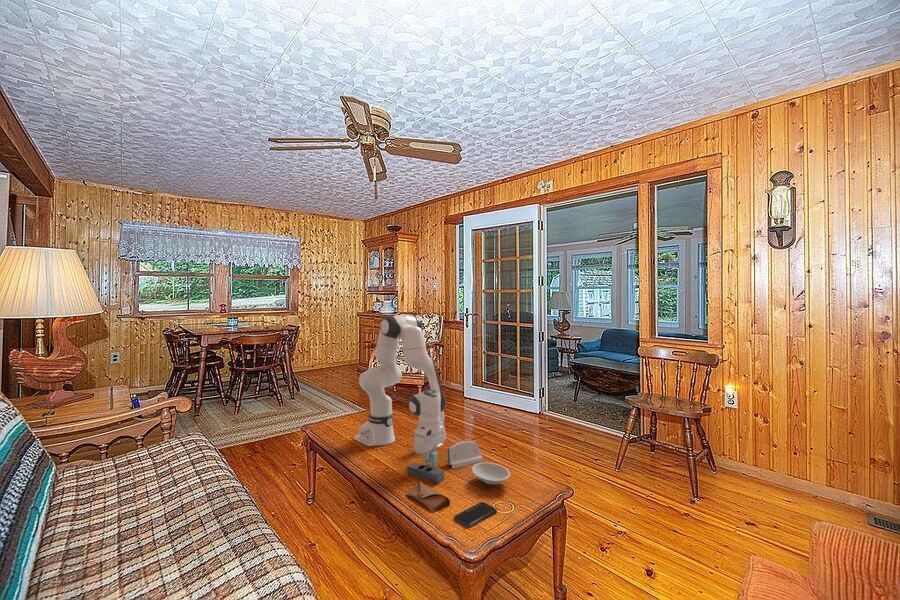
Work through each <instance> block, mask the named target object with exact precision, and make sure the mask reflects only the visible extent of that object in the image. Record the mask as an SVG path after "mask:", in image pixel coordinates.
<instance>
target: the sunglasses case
mask: <svg viewBox="0 0 900 600" xmlns="http://www.w3.org/2000/svg"><path fill="white" fill-rule="evenodd" d="M404 496H405V497H407V498H409V499H411V500H413V501H414V502H416V503H418V504H419V505H421V506H422V507H424V508H425V509H426V510H428V511H429V512H430V513H432V514H434V513H436V512H439V511H440V510H443V509H445V508H447V507H449V506H450V505H451V503H450V502H451V501H450V499H449V497H448V496H445V495H444V494H442V493H440V492H438V491H437V490H436V489H433V488H432V487H430V486H428V485H427V484H424V482H421V481H420V480H419V481H418V482H417V483H416V484H414V486H413V487H412V488H411V489H410V490H409V491H408V492H407V493H406V494H404Z"/></svg>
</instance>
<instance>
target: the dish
mask: <svg viewBox="0 0 900 600" xmlns="http://www.w3.org/2000/svg"><path fill="white" fill-rule="evenodd" d="M471 471H472V473H473V474H474V475H475V476H476V477H477V479H479V481H480V482H482V483H485V484H487V485H490V486H494V485H495V486H497V485H501V484H502V483H504V482H505V481H507V480H508V479H509V478H510V476H511V472H510V470H509V469H508V468H507V467H505V466H503V465H502V464H499V463H494V462H487V461H486V462H485V461H483V462H479V463H475V464H474V465H473V466H472V467H471Z"/></svg>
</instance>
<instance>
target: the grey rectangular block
mask: <svg viewBox="0 0 900 600" xmlns="http://www.w3.org/2000/svg"><path fill="white" fill-rule="evenodd" d="M406 475H408V476H411V477H414V478H416V479H417V478H418V479H420V480H424V481H426V482H429V483H434V484H437V485H438V484H440V483H441V482H442V481H444V480H445V470H442V469H439V468H436V467H431V466H429V465H425V464H422V463H418V462H416V461H415V462H414V461H413V462H412V463H410V464H408V465H407V466H406Z"/></svg>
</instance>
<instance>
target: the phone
mask: <svg viewBox="0 0 900 600" xmlns="http://www.w3.org/2000/svg"><path fill="white" fill-rule="evenodd" d="M497 512H498V511H497V508H496V507H494V506H492V505H490V504H489V503H486V502H484V501H480V502H478V503H476V504H475V505H472V506H470V507H468V508H466V509H465V510H462V511H461V512H459V513H457V514H454V515H453V520H454V521H456V522H457V523H458V524H460V525H461V526H463V527H465V528H467V529H470V528H472V527H474V526H475V525H478V524H480V523H481V522H483V521H485V520H487V519H488V518H490V517H492V516H494V515H496V514H497Z"/></svg>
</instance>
